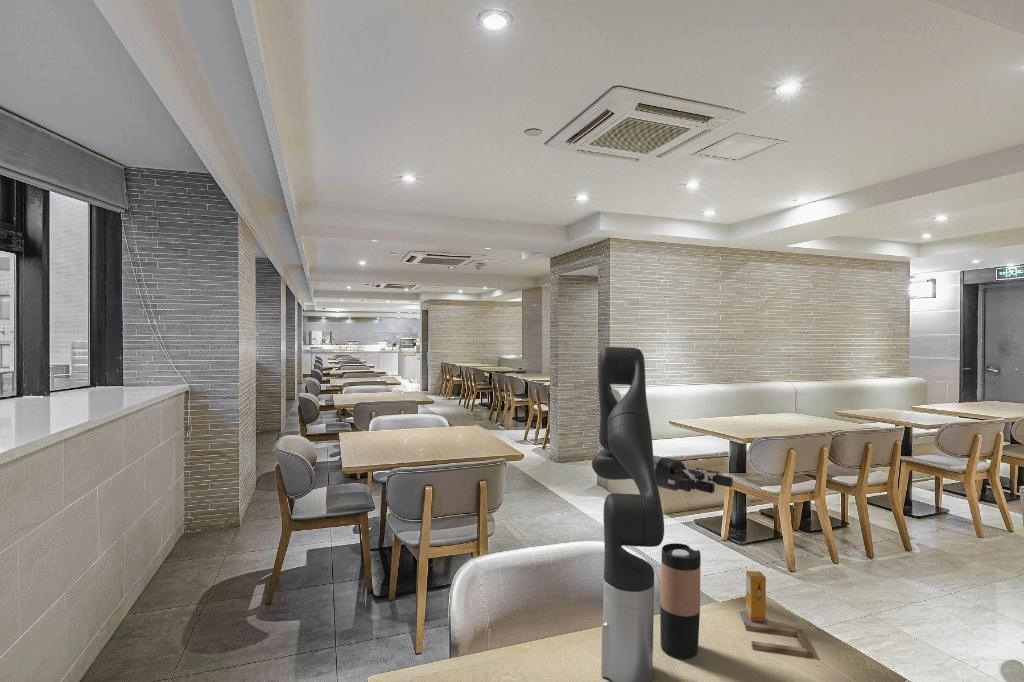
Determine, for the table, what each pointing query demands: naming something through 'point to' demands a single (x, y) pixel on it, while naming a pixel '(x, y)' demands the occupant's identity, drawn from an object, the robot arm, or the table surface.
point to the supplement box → (756, 596)
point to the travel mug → (680, 600)
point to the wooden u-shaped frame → (803, 651)
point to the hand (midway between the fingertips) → (723, 485)
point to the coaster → (747, 620)
